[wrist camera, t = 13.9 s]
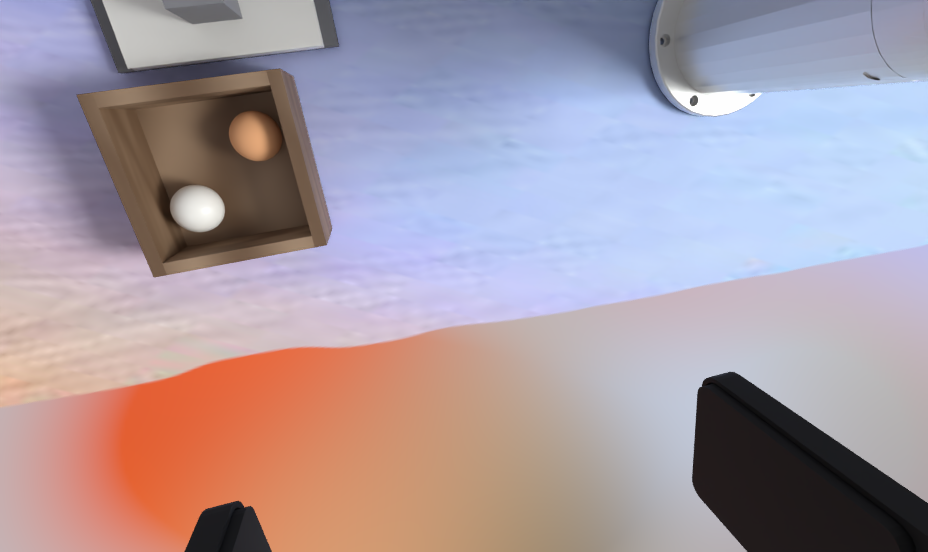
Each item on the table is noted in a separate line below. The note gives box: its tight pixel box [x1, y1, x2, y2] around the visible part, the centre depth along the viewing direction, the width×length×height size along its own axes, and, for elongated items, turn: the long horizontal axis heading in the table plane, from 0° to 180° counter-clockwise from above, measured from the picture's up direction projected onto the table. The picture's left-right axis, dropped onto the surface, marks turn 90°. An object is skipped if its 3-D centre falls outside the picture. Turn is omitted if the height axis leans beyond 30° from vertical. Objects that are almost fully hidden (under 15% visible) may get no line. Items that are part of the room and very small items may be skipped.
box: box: [77, 69, 332, 277], centre depth 29 cm, size 11×11×5 cm
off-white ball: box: [170, 185, 225, 232], centre depth 30 cm, size 3×3×3 cm
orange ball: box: [229, 111, 282, 161], centre depth 29 cm, size 3×3×3 cm
